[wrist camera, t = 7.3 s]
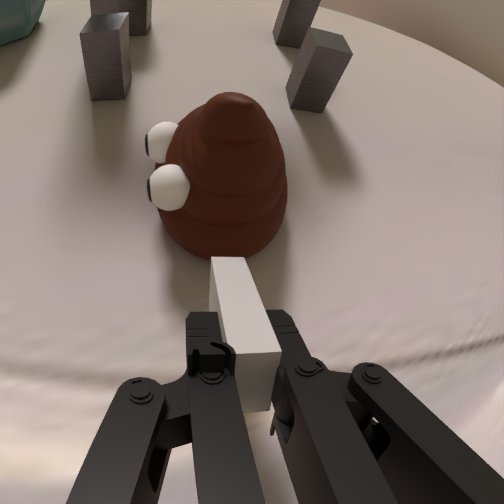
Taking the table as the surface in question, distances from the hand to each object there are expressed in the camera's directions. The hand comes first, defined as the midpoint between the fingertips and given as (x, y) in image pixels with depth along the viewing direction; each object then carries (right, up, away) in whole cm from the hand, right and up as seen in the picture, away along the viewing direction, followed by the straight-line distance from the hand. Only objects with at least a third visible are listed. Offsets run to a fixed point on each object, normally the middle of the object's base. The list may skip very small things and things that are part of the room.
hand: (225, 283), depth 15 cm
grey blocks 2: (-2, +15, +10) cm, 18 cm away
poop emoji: (-1, +5, +6) cm, 8 cm away
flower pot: (-29, +29, +10) cm, 42 cm away
